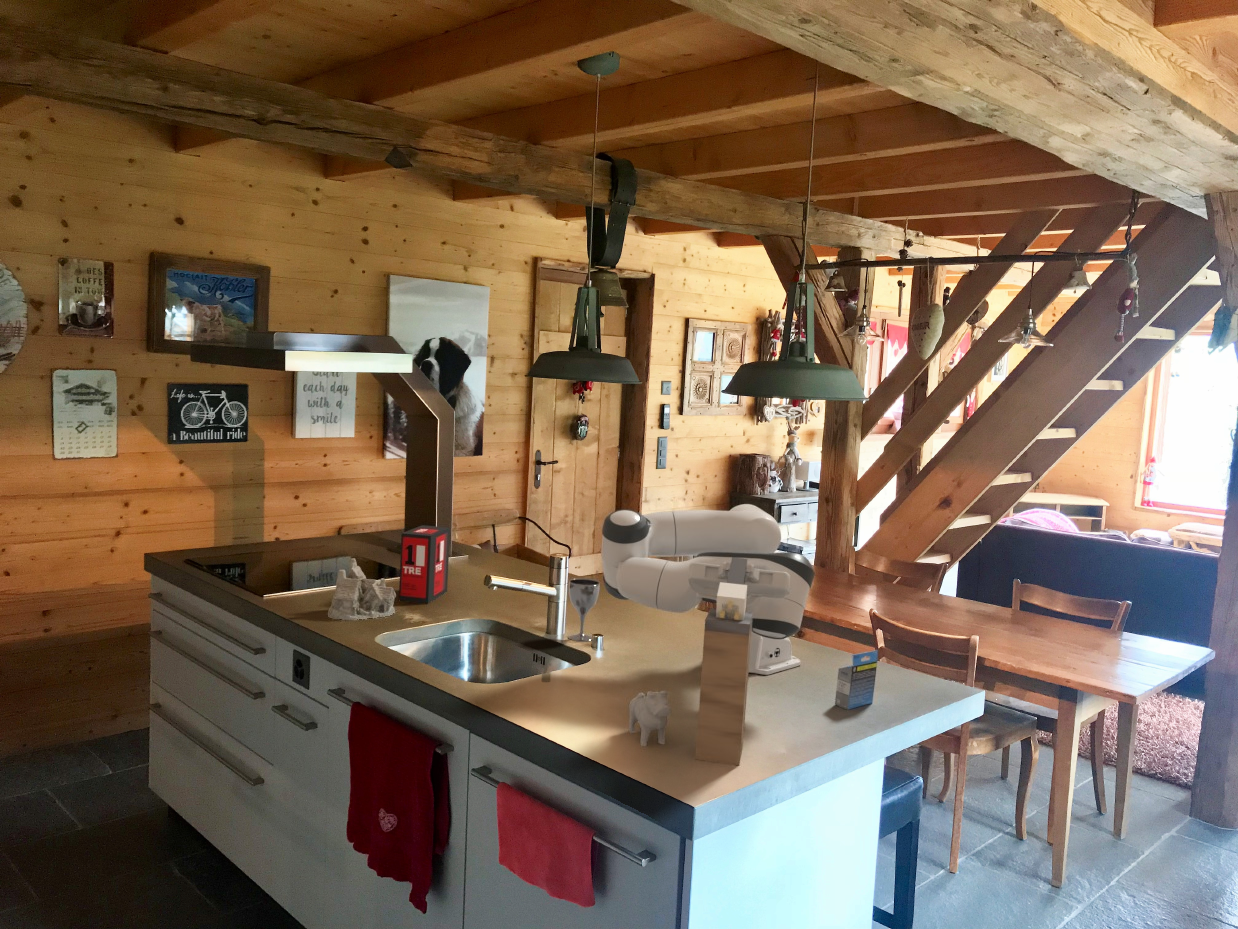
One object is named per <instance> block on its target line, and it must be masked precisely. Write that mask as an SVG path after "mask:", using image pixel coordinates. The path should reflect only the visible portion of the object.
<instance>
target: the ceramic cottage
mask: <svg viewBox="0 0 1238 929" xmlns="http://www.w3.org/2000/svg"><path fill="white" fill-rule="evenodd" d="M346 574H347V575H346ZM376 580H377V579H373V578H372V579H371V578H367V577H366V575H365V573H364V572H363V571H362V568H361V567H360V566H359V565H358V564H357V560H356V558H350V562H349V572H348V573H346V569H339V570H338V573H337V578H336V580H335V583H336V585H335V592H334V594H333V595H332V600H331V604H330V607H329V608H328V612H327V615H328V617H330V618H334V619H342V620H341V621H345V620H346V621H350V620H354V621H360V620H359V619H362V620H363V619H365V620H368V619H367V618H373V619H374V618H376V619H378V618H377V617H385V616H390V615H394V614H396V612H395V611H396V610H395V606H394V602H395V598H396V597H397V594H396V591H395V589H394V588H393V587H391V586H386V579H385V578H380V579H378V580H377V581H376ZM393 613H394V614H393ZM328 617H327V618H328ZM390 617H391V616H390ZM330 618H329V619H330ZM385 618H386V617H385ZM334 619H333V620H334ZM357 619H358V620H357Z"/></svg>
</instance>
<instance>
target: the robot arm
mask: <svg viewBox="0 0 1238 929" xmlns="http://www.w3.org/2000/svg"><path fill="white" fill-rule="evenodd" d="M780 528H781V527H780V525H779V523H778V522H777V520H776V519H775V518H774V516H772V515H771V514H769V513H767V512H766V511H765V510H763V509H762V508H760V507H758V506H757V505H754V504H750V503H744V504H739V505H735V506H734V507H732V508H731V509H730V510H716V509H715V510H713V509H687V510H668V511H664V510H663V511H657V512H651V513H645V514H642V513H640V512H638V511H637V510H633V509H627V508H626V509H625V508H624V509H622V508H621V509H618V510H617V509H616V510H613V511H612V512H610V513H609V514H608V515H607V516H606V517H605V519H604V520H603V523H602V528H601V529H602V530H601V534H602V540H601V549H600V550H601V551H600V552H601V553H600V554H601V562H602V572H603V577H602V580H603V585H604V588H605V590H606V591H607V593H608V594H610V595H611V596H612V597H614V598H615V599H619V600H624V601H627V600H630V601H632V602H635V603H636V604H639V605H642V606H646V607H649V608H652V609H656V610H659V611H664V612H669V613H675V614H684V613H686V612H689V611H691V610H693V609H694V608H696V607H697V606H698V605H699V604H700V603H701V602H702V601H704V602H706V603H711V604H714V605H717V594H718V589H719V585H720V582H723V583H727V579H728V574H729V570H730V565H731V560H732V557H733V558H743V559H747V565H746V578H745V584H744V585H747V598H746V609H745V612H749V613H753V618H752V632H751V645H750V658H749V672H748V673H751V674H759V675H765V676H767V675H771V674H775V673H778V672H781V671H786V670H788V669H792V668H795V667H799V666H801V662H802V661H801V659H799V658H797V657H796V656H794V655H792V654H793V652H792V650H793V648H792V642H791V639H790V637H792V636H794V635H796V634H797V633H799V632H800V628H801V625H802V621H803V616H804V611H805V610H806V607H807V602H808V596H809V593H810V589H811V587H812V585H813V582H814V580H815V576H816V572H815V569H814V568H813V566H812V564H811V562H810V561H809V559H808V558H807V557H806V556H804V555H802V554H799V553H795V552H789V551H788V552H787V551H786V552H785V551H784V552H782V551H781V552H776V551H777V549H779V547H780V545H781V542H782V541H781V540H782V531H781V529H780ZM689 556H690V557H693V556H695V557H694V558H691V559H687V560H683V561H672V560H668V559H667V560H666V559H661V558H657V557H663V558H664V557H665V558H666V557H670V558H671V557H689ZM654 557H656V558H654Z"/></svg>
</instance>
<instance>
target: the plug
mask: <svg viewBox="0 0 1238 929" xmlns="http://www.w3.org/2000/svg"><path fill="white" fill-rule="evenodd" d="M746 565H747V559H743V558H733V557H732V560H731V565H730V570H729V574H728V579H727V583H723V582H720V585H719V589H718V594H717V604H716V608H715V609H716V617H718V618H727V619H734V620H744V615H745V609H746V598H747V585H744V584H745V578H746Z"/></svg>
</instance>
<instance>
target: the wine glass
mask: <svg viewBox="0 0 1238 929" xmlns="http://www.w3.org/2000/svg"><path fill="white" fill-rule="evenodd" d="M568 582H569V583H568V595H569V600H570V603H571V605H572V606H573V607H574V609H575V610H576V612H577V613H578V615H579V621H580V622H579V625H580V629H579V633H575V634H574V633H573V634H569V635H567V639H568V638H569V639H568V640H570V639H572V640H571V641H573V640H574V642H580V641H581V643H582V642H583V643H584V642H586V641H587V642H592V641H591V639H592V636H593V635H589V634H586V633H585V632H584V625H585V624H584V623H585V619H586V616H587V614H588V613H589V611H591V609H592V608H593V607H595V605H596V604H597V602H598V601H597V600H598V598H599V595H600V594H599V592H600V588H601V587H600V585H601V583H600V581H599V580H597V579H593V578H584V577H582V578H581V577H580V578H579V577H577V578H571V579H569V581H568Z"/></svg>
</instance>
